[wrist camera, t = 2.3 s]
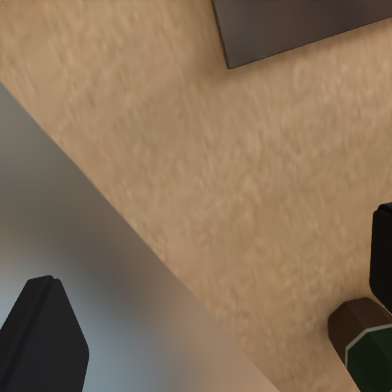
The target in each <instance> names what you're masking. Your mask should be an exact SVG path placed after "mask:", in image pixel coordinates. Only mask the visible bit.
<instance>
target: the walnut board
mask: <svg viewBox="0 0 392 392" xmlns="http://www.w3.org/2000/svg"><path fill="white" fill-rule="evenodd" d="M211 2H212V6H213V10H214V14H215V18H216V23H217V27H218V31H219V35H220V39H221V43H222V47H223V52H224V56H225V60H226V64H227V68H228V69H233V68H236V67H239V66H242V65H245V64H248V63H251V62H254V61H257V60H260V59H263V58H267V57H270V56H273V55H276V54H279V53H282V52H285V51H288V50H291V49H294V48H297V47H300V46H303V45H306V44H309V43H313V42H316V41H319V40H322V39H325V38H328V37H331V36H334V35H337V34H340V33H343V32H346V31H349V30H352V29H355V28H358V27H362V26H365V25H368V24H371V23H374V22H377V21H380V20H383V19H386V18H389V17H392V0H211Z"/></svg>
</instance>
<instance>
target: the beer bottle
mask: <svg viewBox="0 0 392 392" xmlns="http://www.w3.org/2000/svg"><path fill="white" fill-rule="evenodd" d="M329 339H330V341H331V343H332V345H333V347H334V348H335V350H336V352H337V354H338V355H339V357H340V359H341V360H342V362H343V364H344V365H345V367H346V368H347V370H348V372H349V373H350V375H351V377H352V378H353V380H354V382H355V383H356V385H357V387H358V388H359V390H360V392H392V316H391V315H390V314H389V313H388V312H387V311H386V310H385V309H384V308H383V307H381V306H380V305H378V304H376V303H375V302H373V301H372V300H370V299H368V298H364V299H359V300H354V301H349V302H344V303H343V304H342V305H341V306H340V307H339V308H338V309H337V310H336V311H335V312H334V313H333V314H332V315H331V316H330V317H329Z"/></svg>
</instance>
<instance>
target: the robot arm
mask: <svg viewBox="0 0 392 392" xmlns="http://www.w3.org/2000/svg"><path fill="white" fill-rule="evenodd" d="M369 285H370V288H371V291H372V293H373V294H374V295H375V297H376V298H377V299H378V300H379V301H380V302H381V303H382V304H383V305H384V306H385V307H386V308H387V310H388V311H389V312H390V313H391V314H392V202H390V203H386V204H381V205H380V206H379V207H378V209H377V210H376V211H375V212H374V213H373V223H372V241H371V259H370V277H369ZM88 361H89V349H88V345H87V343H86V340H85V338H84V335H83V333H82V331H81V328H80V326H79V323H78V321H77V319H76V316H75V314H74V312H73V309H72V307H71V304H70V302H69V300H68V297H67V295H66V292H65V290H64V287H63V285H62V283H61V281H60V280H59V279H54V278H53V277H52V276H51V275H47V276H43V277H38V278H33V279H30V280H28V281H27V283H26V284H25V286H24V288H23V290H22V292H21V293H20V295H19V297H18V299H17V301H16V302H15V304H14V306H13V308H12V310H11V312H10V314H9V315H8V317H7V319H6V321H5V322H4V324H3V326H2V328H1V330H0V392H82V389H83V384H84V380H85V375H86V370H87V365H88Z"/></svg>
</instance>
